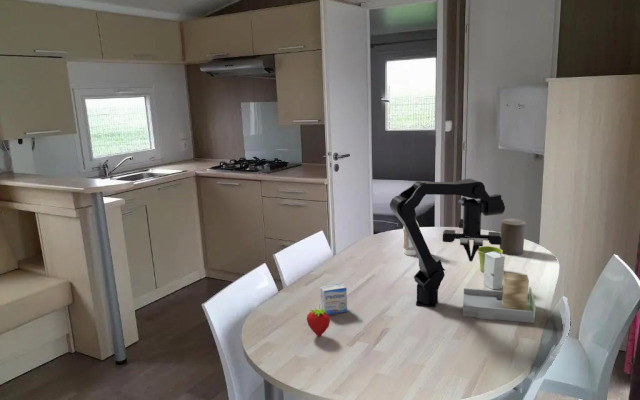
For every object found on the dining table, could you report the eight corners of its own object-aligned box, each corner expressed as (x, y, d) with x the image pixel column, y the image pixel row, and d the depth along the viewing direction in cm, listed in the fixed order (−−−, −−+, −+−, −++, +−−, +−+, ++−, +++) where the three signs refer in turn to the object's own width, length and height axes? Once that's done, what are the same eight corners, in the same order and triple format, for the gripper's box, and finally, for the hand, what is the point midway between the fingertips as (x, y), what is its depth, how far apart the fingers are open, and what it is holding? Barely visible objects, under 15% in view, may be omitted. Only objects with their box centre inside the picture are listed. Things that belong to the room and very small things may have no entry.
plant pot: (497, 266, 193) (498, 245, 191) (504, 275, 184) (505, 253, 182) (474, 266, 194) (474, 246, 192) (479, 275, 184) (480, 254, 183)
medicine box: (324, 315, 157) (323, 291, 155) (321, 310, 161) (320, 286, 159) (347, 312, 159) (346, 287, 157) (343, 306, 163) (342, 282, 161)
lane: (462, 316, 152) (463, 299, 151) (463, 298, 165) (464, 282, 164) (534, 323, 146) (535, 305, 145) (529, 304, 159) (530, 287, 158)
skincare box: (482, 283, 177) (483, 252, 174) (492, 282, 178) (494, 251, 175) (492, 290, 171) (494, 258, 168) (503, 288, 172) (505, 256, 169)
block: (502, 308, 152) (504, 278, 150) (502, 301, 157) (503, 272, 155) (526, 310, 150) (528, 280, 148) (525, 303, 155) (527, 274, 153)
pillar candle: (500, 254, 206) (502, 221, 202) (498, 247, 215) (500, 215, 211) (524, 256, 203) (527, 222, 199) (522, 248, 212) (524, 216, 208)
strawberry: (314, 328, 149) (313, 298, 146) (334, 335, 144) (333, 304, 142) (303, 336, 144) (301, 305, 142) (323, 343, 140) (321, 312, 137)
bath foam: (404, 250, 216) (404, 207, 212) (420, 251, 214) (420, 207, 210) (401, 255, 210) (401, 211, 206) (417, 256, 208) (418, 211, 203)
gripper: (500, 211, 165) (498, 255, 168) (444, 210, 170) (444, 251, 174) (502, 220, 154) (500, 266, 158) (442, 218, 160) (442, 262, 164)
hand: (470, 261), depth 164 cm, fingers closed
